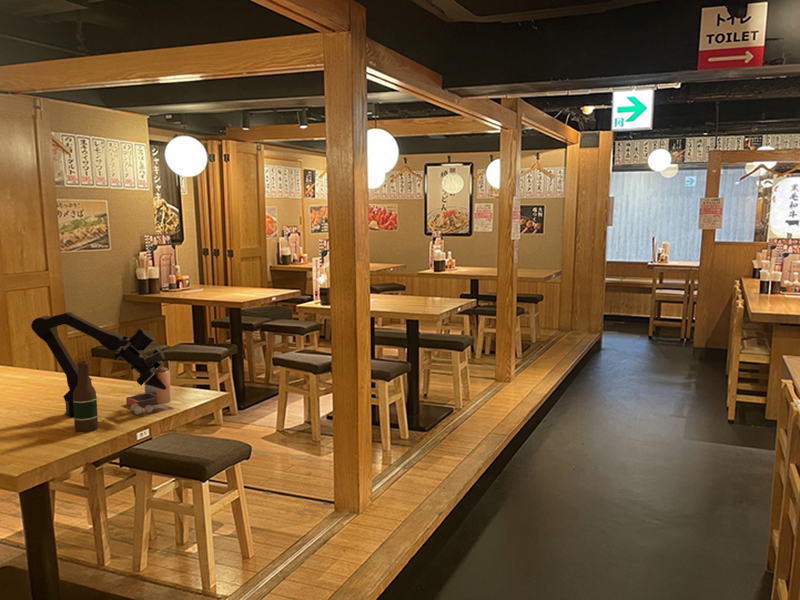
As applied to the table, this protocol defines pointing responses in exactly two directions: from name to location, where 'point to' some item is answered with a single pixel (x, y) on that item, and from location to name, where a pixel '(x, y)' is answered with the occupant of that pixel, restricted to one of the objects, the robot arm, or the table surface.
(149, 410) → the pebble
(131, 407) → the pebble
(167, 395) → the canister
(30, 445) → the table surface
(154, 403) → the lacquer box
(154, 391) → the ceramic mug
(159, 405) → the board
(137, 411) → the pebble
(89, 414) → the beer bottle
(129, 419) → the table surface
